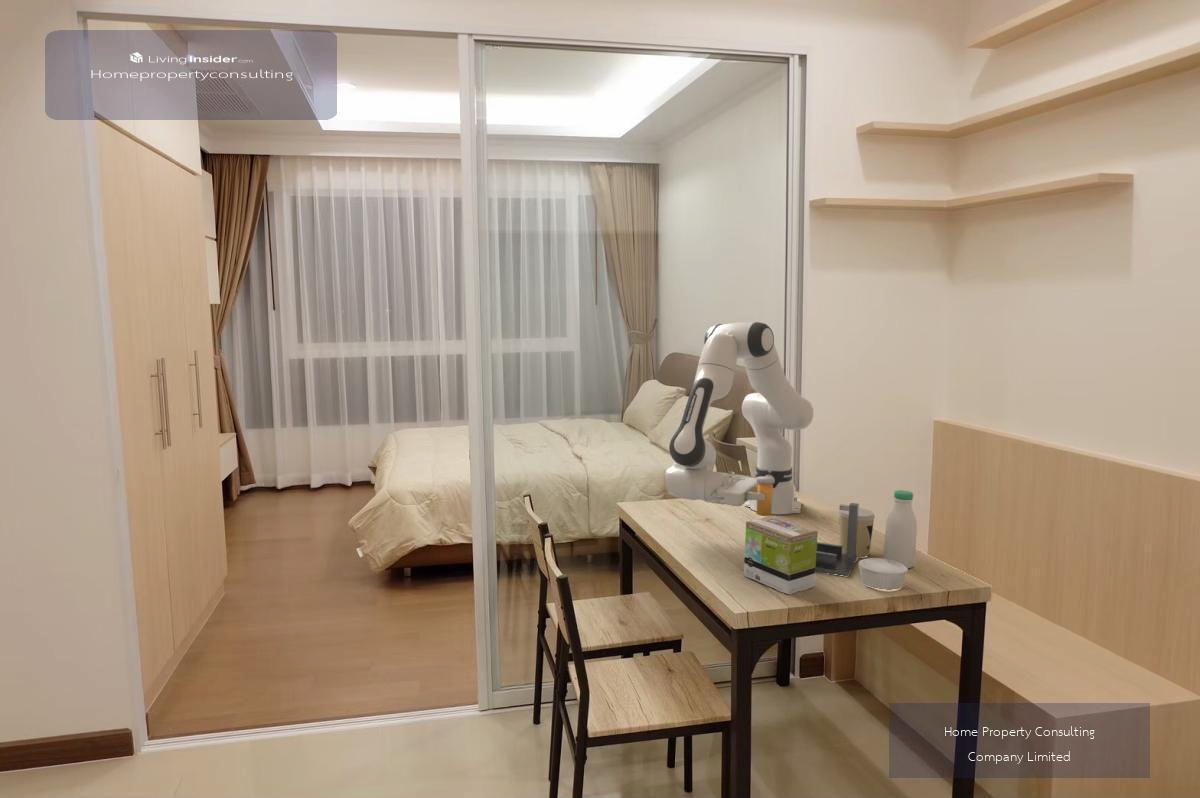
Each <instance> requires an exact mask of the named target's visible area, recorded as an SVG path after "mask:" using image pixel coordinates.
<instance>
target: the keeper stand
mask: <svg viewBox="0 0 1200 798" xmlns="http://www.w3.org/2000/svg"><path fill="white" fill-rule="evenodd" d="M859 505H860V504H859V503H855V502H850V503H849V504H845V503H840V505H839V511H840V510H844V511H849V521H848V537H847V553H846V554H843V553H842V547H843V546H840V544H832V543H826V542H822V541H821V542H820V541H817V551H816V567H815V571H816V572H815V573H821V572H822V573H821V574H827V573H829V574H828V575H832V574H837V575H836V576H838V575H843V576H842V577H844V576H848V577H849V575H850V573H851V571H852V570H851V569H853V568H854V566H855V564H856V562H857V559H858V558H857V556H856V542H857V527H858V511H859V508H860V506H859ZM855 561H856V562H855ZM852 567H853V568H852ZM850 570H851V571H850ZM849 572H850V573H849ZM848 574H849V575H848Z"/></svg>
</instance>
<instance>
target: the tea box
mask: <svg viewBox="0 0 1200 798" xmlns="http://www.w3.org/2000/svg"><path fill="white" fill-rule="evenodd" d="M818 534H819V533H818V530H816V529H813V528H809V527H807V526H804V525H800V524H798V523H795V522H792V521H789V520H786V519H783V518H780V517H778V516H774V515H770V516H764V517H762V518H757V519H753V520H749V521H745V539H744V558H743V559H744V560H743V561H744V563H743V577H745V578H749V579H751V580H754V581H756V582H758V583H761V584H762V585H765V586H767V587H770V588H771V589H773V588H774V589H773V590H775V591H779V593H782V592H783V593H782V594H784V593H786V594H790V595H792V594H791V593H794V594H796V593H795V592H797V593H799V592H798V591H800V592H803V591H806V590H809V588H810V589H812V588H814V587H815V581H816V580H815V578H816V572H815V567H816V551H817V542H818ZM805 589H806V590H805ZM802 590H803V591H802ZM786 594H785V595H786Z"/></svg>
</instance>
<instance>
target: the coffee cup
mask: <svg viewBox="0 0 1200 798" xmlns="http://www.w3.org/2000/svg"><path fill="white" fill-rule="evenodd" d="M838 515H839V545H840V546H843V547H842V553H843V554H846V553H847V537H848V521H849V511H844V510H839V512H838ZM874 520H875V513H874V512H873V511H872V510H869V509H865V508H862V507H859V511H858V527H857V542H856V556H857V557H865V556H868V555H869V556H870V549H871V544H872V543H871V542H872V535H873V529H874ZM869 556H868V557H869ZM865 558H866V557H865Z"/></svg>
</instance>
